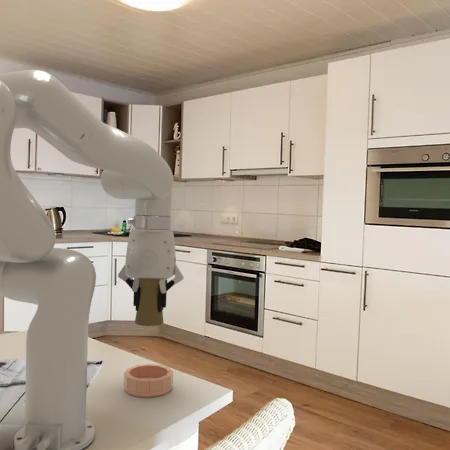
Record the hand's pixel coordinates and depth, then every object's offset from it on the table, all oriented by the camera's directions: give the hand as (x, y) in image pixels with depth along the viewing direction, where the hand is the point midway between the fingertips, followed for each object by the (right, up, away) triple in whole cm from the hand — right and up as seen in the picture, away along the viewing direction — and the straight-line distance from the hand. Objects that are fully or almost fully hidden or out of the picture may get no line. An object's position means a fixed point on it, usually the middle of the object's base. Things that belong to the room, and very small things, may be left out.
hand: (149, 309), depth 101 cm
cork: (0, -3, 0) cm, 3 cm away
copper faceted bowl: (0, -17, +1) cm, 17 cm away
